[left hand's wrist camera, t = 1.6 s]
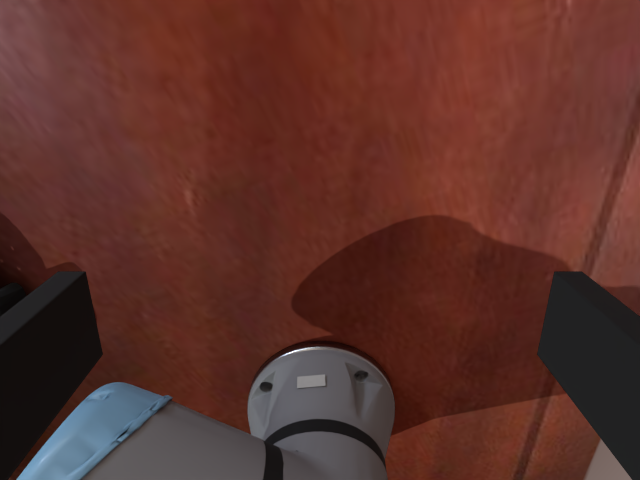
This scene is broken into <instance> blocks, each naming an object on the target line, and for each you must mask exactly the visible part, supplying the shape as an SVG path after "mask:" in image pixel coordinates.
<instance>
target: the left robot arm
mask: <svg viewBox="0 0 640 480" xmlns="http://www.w3.org/2000/svg"><path fill="white" fill-rule="evenodd" d="M102 355H103V353H102V348H101V343H100V339H99V334H98V329H97V324H96V319H95V314H94V310H93V305H92V300H91V295H90V290H89V285H88V281H87V276H86V272H57V273H56V274H54V275H53V276H52V277H51V278H49V279H48V280H47V281H45V282H44V283H43V284H42V285H40V286H39V287H38V288H36V289H35V290H34V291H33V292H31V293H30V294H29V295H27V296H26V297H25V298H24V299H22V300H21V301H20V302H18V303H17V304H16V305H15V306H13V307H12V308H11V309H9V310H8V311H7V312H6V313H4V314H3V315H2V316H0V480H8V479H9V477H10V476H11V475H12V473H13V472H14V471H15V469H16V468H17V467H18V465H19V464H20V463H21V461H22V460H23V459H24V458H25V456H26V455H27V454H28V452H29V451H30V450H31V448H32V447H33V446H34V444H35V443H36V442H37V440H38V439H39V438H40V436H41V435H42V434H43V433H44V431H45V430H46V429H47V427H48V426H49V425H50V423H51V422H52V421H53V419H54V418H55V417H56V415H57V414H58V413H59V411H60V410H61V409H62V407H63V406H64V405H65V404H66V402H67V401H68V400H69V398H70V397H71V396H72V394H73V393H74V392H75V390H76V389H77V388H78V386H79V385H80V384H81V382H82V381H83V380H84V379H85V377H86V376H87V375H88V373H89V372H90V371H91V369H92V368H93V367H94V365H95V364H96V363H97V361H98V360H99V359H100V357H101V356H102ZM537 355H538V356H539V357H540V359H541V360H542V361H543V363H544V364H545V365H546V367H547V368H548V369H549V371H550V372H551V373H552V375H553V376H554V377H555V379H556V380H557V381H558V382H559V384H560V385H561V386H562V388H563V389H564V390H565V392H566V393H567V394H568V396H569V397H570V398H571V400H572V401H573V402H574V404H575V405H576V406H577V407H578V409H579V410H580V411H581V413H582V414H583V415H584V417H585V418H586V419H587V421H588V422H589V423H590V425H591V426H592V427H593V429H594V430H595V431H596V433H597V434H598V435H599V436H600V438H601V439H602V440H603V442H604V443H605V444H606V446H607V447H608V448H609V450H610V451H611V452H612V454H613V455H614V456H615V458H616V459H617V460H618V461H619V463H620V464H621V465H622V467H623V468H624V469H625V471H626V472H627V473H628V475H629V476H630V477H631V479H632V480H640V316H638V315H637V314H636V313H634V312H633V311H632V310H631V309H629V308H628V307H627V306H625V305H624V304H623V303H622V302H620V301H619V300H618V299H616V298H615V297H614V296H613V295H611V294H610V293H609V292H607V291H606V290H605V289H604V288H602V287H601V286H600V285H598V284H597V283H596V282H595V281H593V280H592V279H591V278H589V277H588V276H587V275H586V274H584V273H583V272H554V276H553V281H552V285H551V290H550V295H549V300H548V305H547V310H546V314H545V319H544V324H543V329H542V334H541V339H540V343H539V348H538V353H537ZM172 398H173V397H171V396H168V395H166V396H161V395H158V394H155V393H152V392H150V391H147V390H144V389H141V388H139V387H136V386H133V385H130V384H127V383H122V382H115V383H110V384H107V385H104V386H102V387H100V388H98V389H97V390H95V391H94V392H93V393H91V394H90V395H89V396H88V397H87V398H86V399H85V400H84V401H83V402H82V403H81V404H80V405H79V406H78V407H77V408H76V409H75V410H74V411H73V412H72V413H71V414H70V415H69V416H68V417H67V419H66V420H65V421H64V422H63V423H62V424H61V425H60V427H59V428H58V429H57V430H56V431H55V432H54V434H53V435H52V436H51V437H50V438H49V440H48V441H47V442H46V443H45V444H44V446H43V447H42V448H41V449H40V450H39V452H38V453H37V454H36V455H35V457H34V458H33V459H32V460H31V462H30V463H29V464H28V466H27V467H26V468H25V469H24V471H23V472H22V473H21V475H20V476H19V477H18V479H17V480H388V478H387V473H386V466H385V456H386V452H387V448H388V444H389V440H390V436H391V432H392V428H393V423H394V417H395V401H394V396H393V391H392V386H391V383H390V381H389V378H388V376H387V375H386V373H385V371H384V370H383V369H382V367H381V366H380V365H379V364H378V363H377V362H376V361H375V360H374V359H373V358H371V357H370V356H369V355H367V354H366V353H364V352H362V351H360V350H358V349H356V348H354V347H351V346H348V345H345V344H341V343H336V342H328V341H313V342H305V343H300V344H296V345H293V346H290V347H288V348H285V349H283V350H281V351H279V352H278V353H276V354H275V355H273V356H272V357H270V358H269V359H268V360H267V361H266V362H265V363H264V364H263V365H262V366H261V367H260V369H259V370H258V371H257V373H256V375H255V377H254V379H253V381H252V385H251V389H250V393H249V398H248V420H249V425H250V430H251V434H248V433H246V432H243V431H241V430H239V429H236V428H234V427H231V426H229V425H227V424H224V423H222V422H220V421H217V420H215V419H212V418H210V417H208V416H205V415H203V414H201V413H198V412H196V411H194V410H192V409H189V408H187V407H185V406H183V405H180V404H178V403H176V402H174V401H171V400H172Z"/></svg>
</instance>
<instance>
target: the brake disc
mask: <svg viewBox="0 0 640 480" xmlns="http://www.w3.org/2000/svg"><path fill="white" fill-rule="evenodd" d="M25 297H26V294H25V292H24V289H23V287H21V286H20V285H19V284H17V283H10V284H8V285H6V286H5V287H3V288H1V289H0V316H2V315H3V314H4V313H6V312H7V311H8V310H9V309H11V308H12V307H13V306H15V305H16V304H17V303H18V302H20V301H21V300H22V299H24V298H25Z"/></svg>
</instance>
